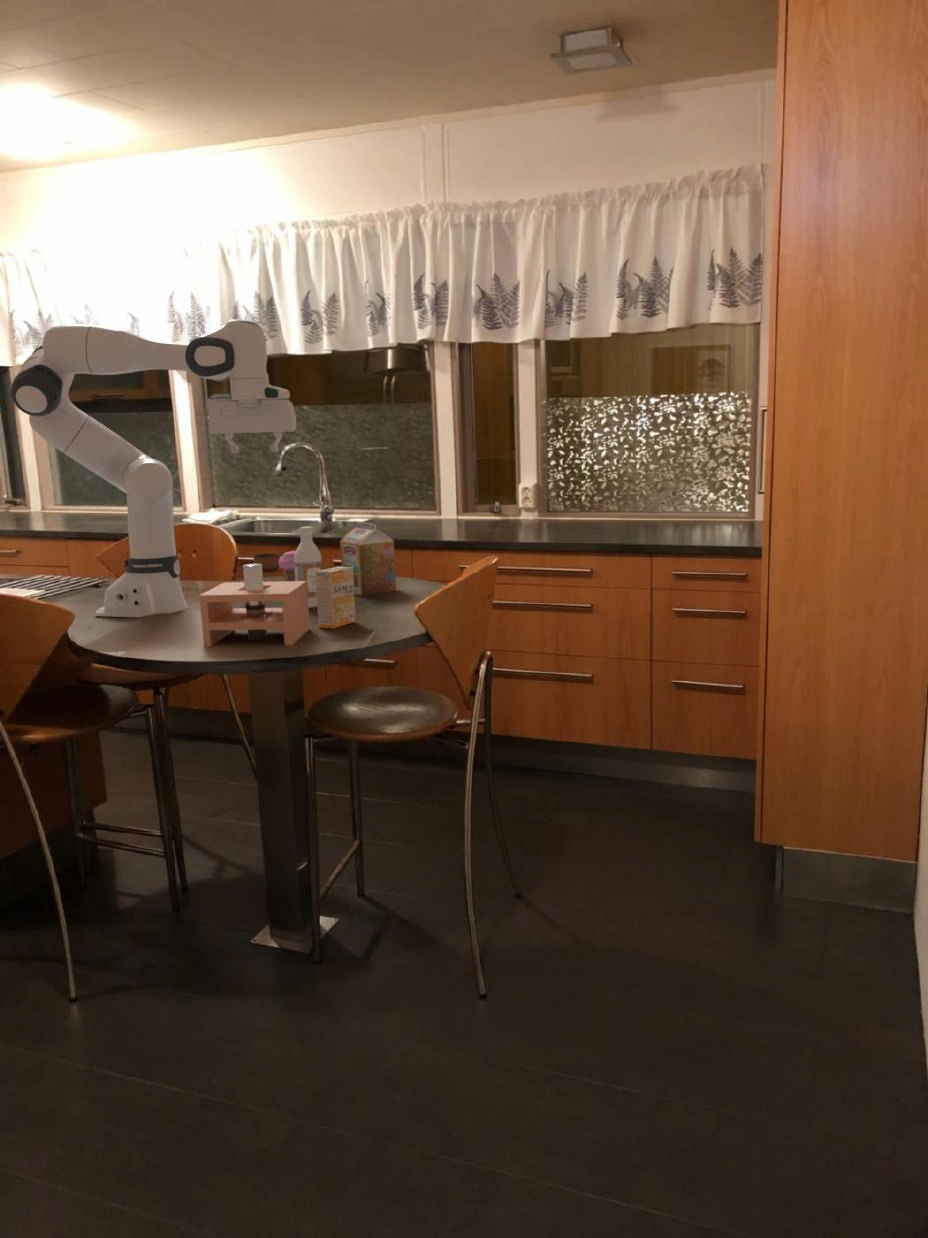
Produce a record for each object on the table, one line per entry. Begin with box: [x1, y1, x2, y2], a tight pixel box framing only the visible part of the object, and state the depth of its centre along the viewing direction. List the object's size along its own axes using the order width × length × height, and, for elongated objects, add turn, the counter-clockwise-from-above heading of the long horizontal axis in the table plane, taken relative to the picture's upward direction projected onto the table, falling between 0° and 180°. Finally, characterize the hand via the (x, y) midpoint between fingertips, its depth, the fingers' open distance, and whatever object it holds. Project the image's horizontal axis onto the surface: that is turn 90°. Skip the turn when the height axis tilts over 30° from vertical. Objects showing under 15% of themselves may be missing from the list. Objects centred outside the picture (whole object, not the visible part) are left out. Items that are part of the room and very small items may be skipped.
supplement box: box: [315, 566, 356, 629], centre depth 224 cm, size 8×5×13 cm, turn 148°
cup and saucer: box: [252, 553, 283, 574], centre depth 303 cm, size 12×12×6 cm
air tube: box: [242, 563, 268, 641], centre depth 214 cm, size 4×4×16 cm
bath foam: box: [294, 526, 324, 609], centre depth 248 cm, size 7×7×20 cm
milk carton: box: [339, 521, 397, 597], centre depth 264 cm, size 11×11×19 cm
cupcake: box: [278, 550, 296, 581], centre depth 281 cm, size 9×9×10 cm
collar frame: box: [198, 580, 311, 647], centre depth 214 cm, size 19×16×11 cm
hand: (254, 452), depth 231 cm, fingers open, 8 cm apart
